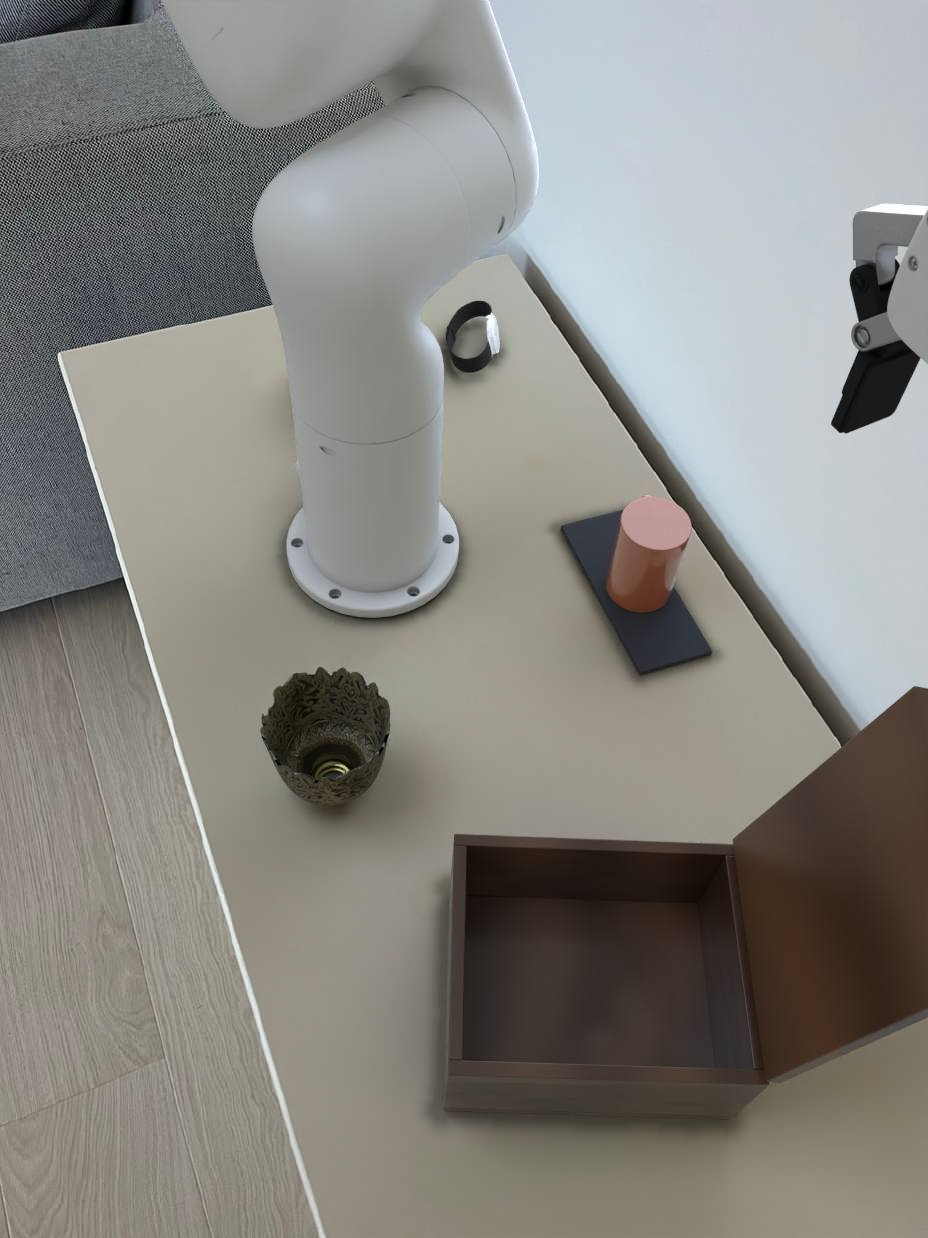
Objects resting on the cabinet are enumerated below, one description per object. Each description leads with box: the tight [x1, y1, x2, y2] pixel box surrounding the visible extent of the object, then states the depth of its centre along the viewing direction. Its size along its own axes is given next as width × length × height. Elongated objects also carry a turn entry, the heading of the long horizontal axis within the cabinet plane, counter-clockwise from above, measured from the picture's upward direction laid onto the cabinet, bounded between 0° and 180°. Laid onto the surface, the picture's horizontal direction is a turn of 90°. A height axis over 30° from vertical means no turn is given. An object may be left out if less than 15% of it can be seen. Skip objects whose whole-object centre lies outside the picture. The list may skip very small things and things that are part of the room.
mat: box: [560, 509, 713, 676], centre depth 78 cm, size 14×6×1 cm, turn 20°
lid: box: [732, 685, 928, 1084], centre depth 48 cm, size 16×12×1 cm
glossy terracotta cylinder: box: [605, 494, 693, 613], centre depth 76 cm, size 6×5×7 cm
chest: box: [442, 833, 771, 1120], centre depth 58 cm, size 15×12×8 cm
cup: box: [259, 666, 392, 807], centre depth 65 cm, size 8×7×8 cm
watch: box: [445, 300, 501, 374], centre depth 92 cm, size 8×5×4 cm, turn 175°
